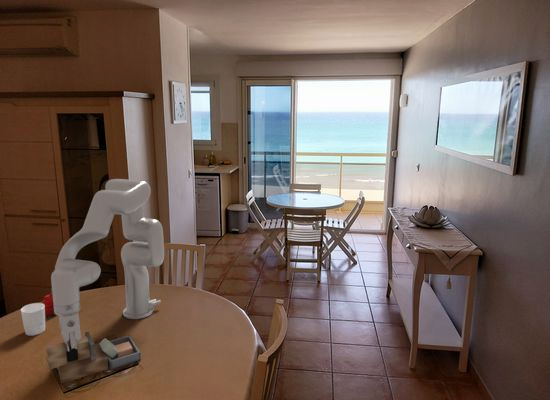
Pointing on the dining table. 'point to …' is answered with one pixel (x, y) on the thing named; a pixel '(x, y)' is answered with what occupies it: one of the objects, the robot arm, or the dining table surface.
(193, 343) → the dining table surface
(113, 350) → the tile sage
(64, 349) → the scraper
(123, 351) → the tile terracotta
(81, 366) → the wooden block
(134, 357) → the tray
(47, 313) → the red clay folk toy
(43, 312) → the white cup
